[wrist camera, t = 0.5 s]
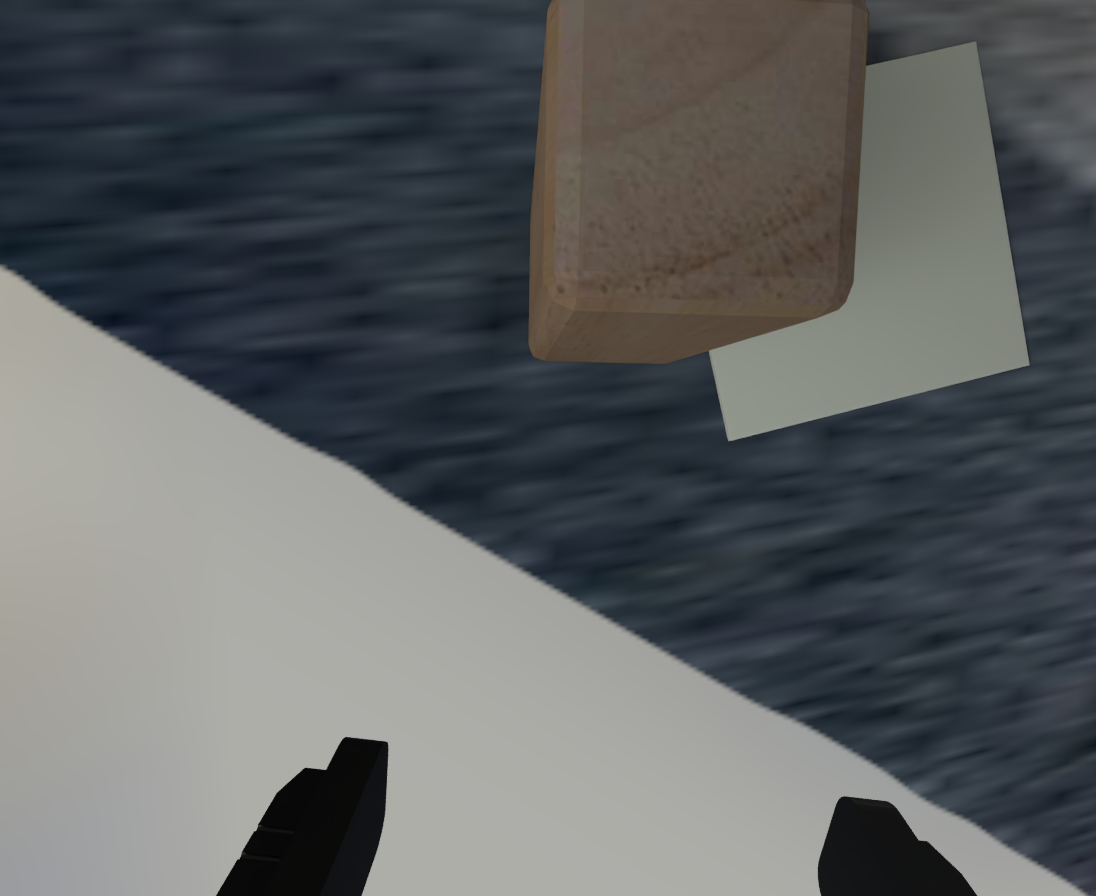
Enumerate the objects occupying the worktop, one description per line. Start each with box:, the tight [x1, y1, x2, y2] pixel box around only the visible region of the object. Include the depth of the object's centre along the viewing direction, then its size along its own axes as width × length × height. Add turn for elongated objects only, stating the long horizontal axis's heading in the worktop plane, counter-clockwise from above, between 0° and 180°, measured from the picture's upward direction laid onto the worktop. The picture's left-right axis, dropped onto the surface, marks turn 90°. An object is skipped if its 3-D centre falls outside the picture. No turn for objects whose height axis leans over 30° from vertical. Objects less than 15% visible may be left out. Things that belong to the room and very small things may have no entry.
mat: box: [709, 41, 1029, 441], centre depth 37 cm, size 22×22×1 cm
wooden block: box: [529, 0, 869, 364], centre depth 26 cm, size 10×10×20 cm
